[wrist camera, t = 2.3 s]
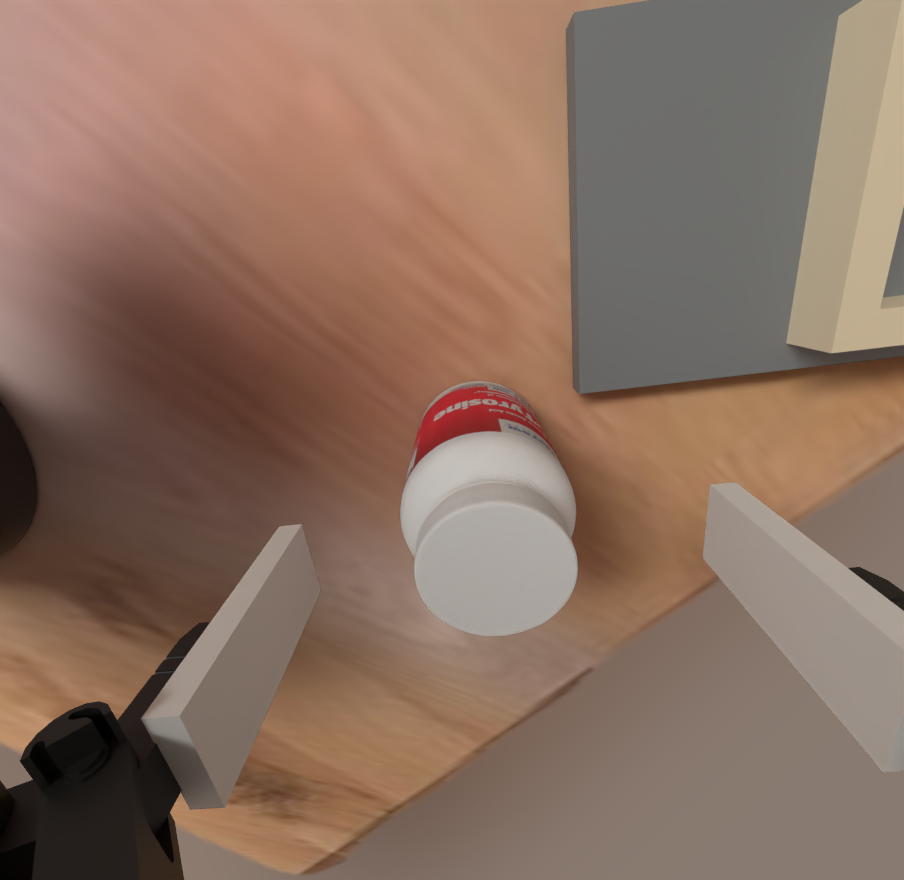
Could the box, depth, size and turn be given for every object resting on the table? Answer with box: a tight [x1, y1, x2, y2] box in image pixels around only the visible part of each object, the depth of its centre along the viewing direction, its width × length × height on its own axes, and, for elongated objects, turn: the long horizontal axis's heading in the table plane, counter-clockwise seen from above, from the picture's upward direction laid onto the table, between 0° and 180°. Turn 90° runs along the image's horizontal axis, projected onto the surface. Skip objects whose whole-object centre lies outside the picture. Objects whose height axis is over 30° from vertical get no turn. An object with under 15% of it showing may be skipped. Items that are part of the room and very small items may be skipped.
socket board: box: [566, 0, 904, 394], centre depth 17 cm, size 21×14×4 cm
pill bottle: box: [400, 381, 578, 636], centre depth 17 cm, size 6×6×11 cm
